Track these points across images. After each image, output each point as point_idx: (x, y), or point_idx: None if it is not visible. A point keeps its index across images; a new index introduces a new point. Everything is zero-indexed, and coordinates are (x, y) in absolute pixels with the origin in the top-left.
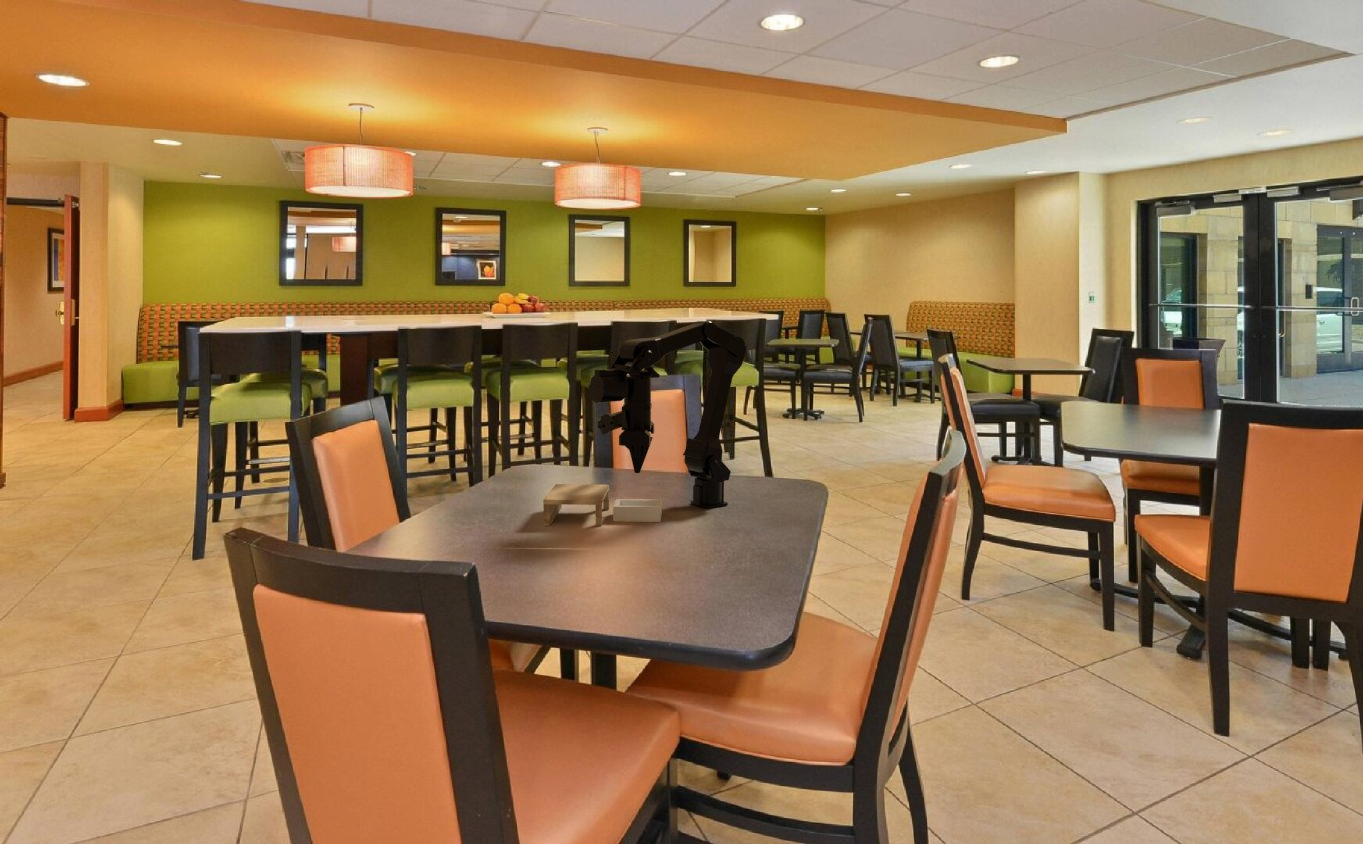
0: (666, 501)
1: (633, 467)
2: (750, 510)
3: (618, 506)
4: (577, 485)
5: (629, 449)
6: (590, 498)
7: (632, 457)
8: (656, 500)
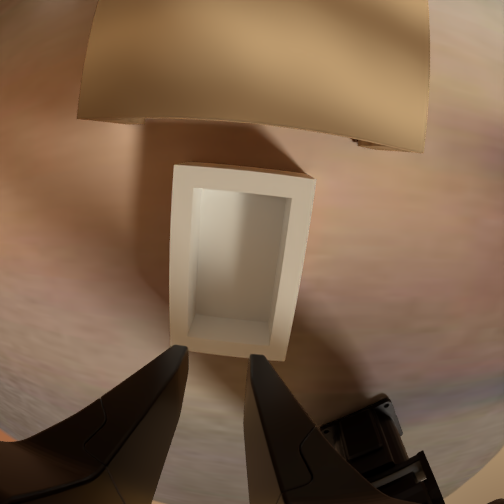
0: (430, 341)
1: (153, 361)
2: None
3: (176, 188)
4: (405, 1)
5: (11, 447)
6: (111, 61)
7: (89, 413)
8: (272, 344)
